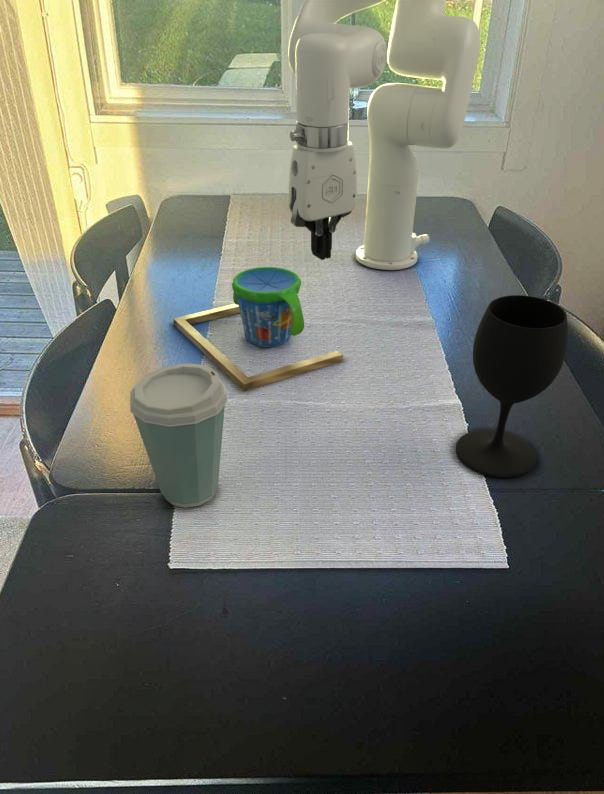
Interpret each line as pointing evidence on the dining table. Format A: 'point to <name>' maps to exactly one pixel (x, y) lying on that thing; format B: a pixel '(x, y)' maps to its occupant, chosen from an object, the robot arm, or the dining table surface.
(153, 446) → the disposable coffee cup
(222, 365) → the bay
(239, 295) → the snack cup
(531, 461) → the wine glass
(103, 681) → the dining table surface
